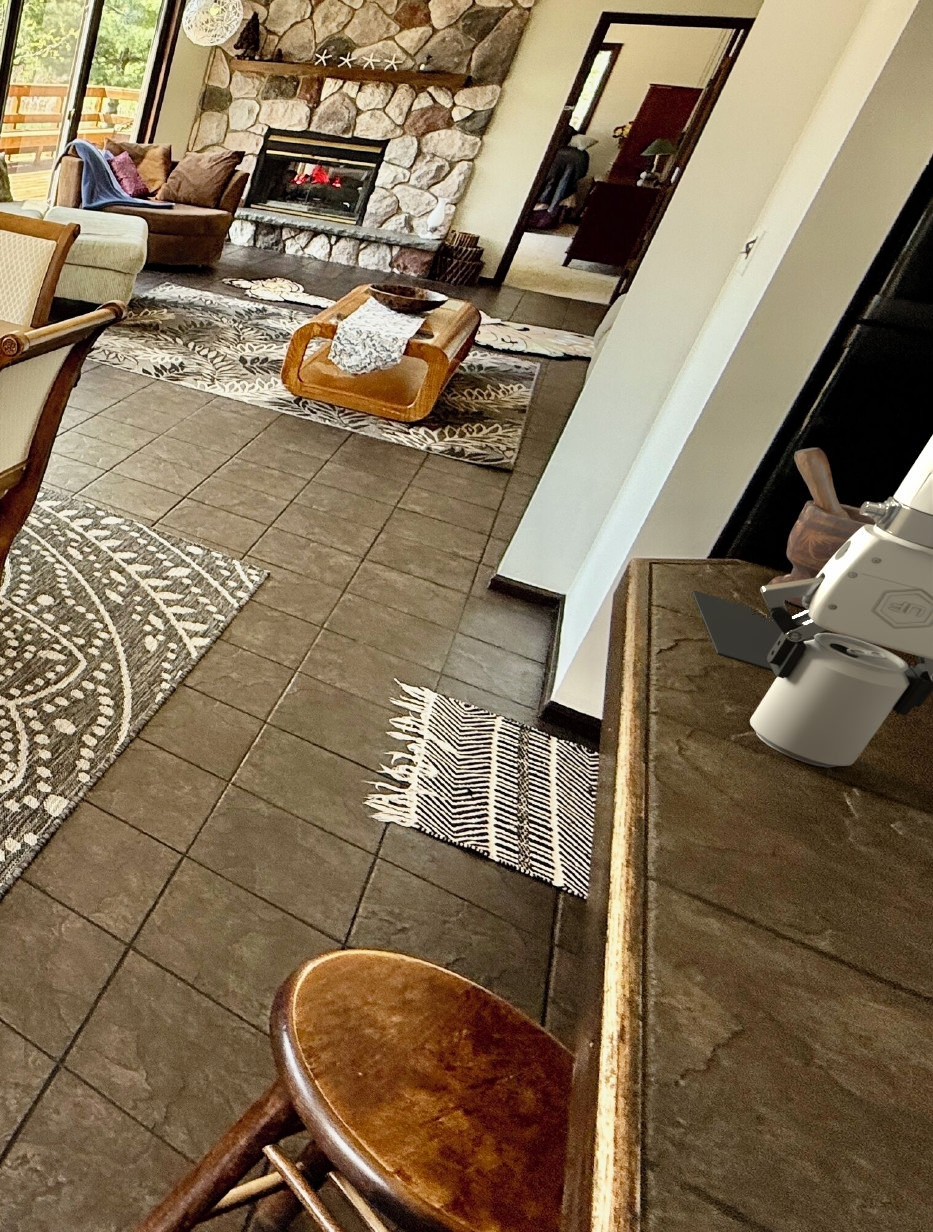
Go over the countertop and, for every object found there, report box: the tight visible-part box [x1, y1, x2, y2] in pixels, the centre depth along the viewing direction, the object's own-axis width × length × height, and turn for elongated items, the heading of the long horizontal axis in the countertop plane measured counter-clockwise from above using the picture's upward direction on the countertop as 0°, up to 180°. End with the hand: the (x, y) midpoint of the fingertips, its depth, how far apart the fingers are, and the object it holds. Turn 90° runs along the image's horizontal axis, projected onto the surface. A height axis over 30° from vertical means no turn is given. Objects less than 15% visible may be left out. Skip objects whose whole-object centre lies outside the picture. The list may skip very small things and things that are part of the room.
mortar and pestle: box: [766, 447, 876, 609], centre depth 121 cm, size 12×9×20 cm
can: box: [749, 632, 910, 768], centre depth 91 cm, size 8×8×12 cm
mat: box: [691, 589, 823, 671], centre depth 113 cm, size 12×20×1 cm, turn 142°
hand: (835, 688), depth 90 cm, fingers closed on can, 7 cm apart
